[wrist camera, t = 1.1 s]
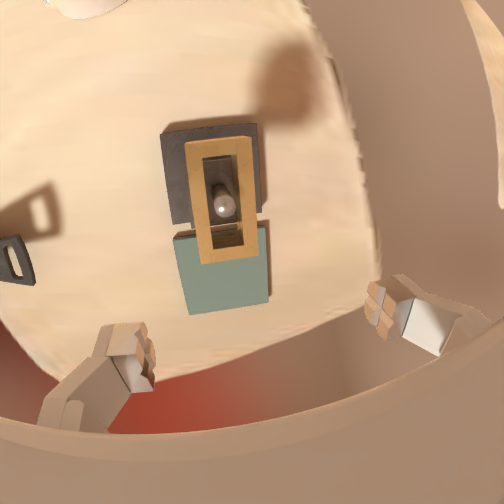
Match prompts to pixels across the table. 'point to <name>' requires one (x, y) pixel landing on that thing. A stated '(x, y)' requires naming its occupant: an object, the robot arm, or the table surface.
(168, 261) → the table surface
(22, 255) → the zipper pull
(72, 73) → the table surface
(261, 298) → the rubber mat
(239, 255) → the wooden rectangular frame
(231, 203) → the pin stand
